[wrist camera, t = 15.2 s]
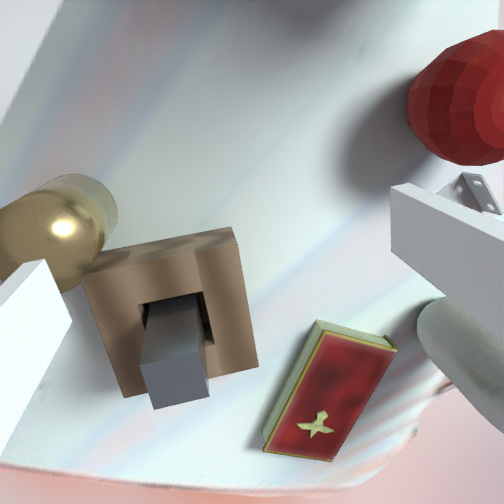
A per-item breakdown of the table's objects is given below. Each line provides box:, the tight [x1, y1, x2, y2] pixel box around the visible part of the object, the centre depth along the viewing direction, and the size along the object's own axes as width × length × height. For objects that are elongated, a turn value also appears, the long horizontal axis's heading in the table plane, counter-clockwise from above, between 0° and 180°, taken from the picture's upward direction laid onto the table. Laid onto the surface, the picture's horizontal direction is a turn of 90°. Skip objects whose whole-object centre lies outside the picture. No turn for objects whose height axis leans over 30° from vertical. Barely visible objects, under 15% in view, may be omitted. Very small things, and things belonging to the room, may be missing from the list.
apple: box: [406, 30, 504, 166], centre depth 36 cm, size 12×12×13 cm
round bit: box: [0, 174, 117, 294], centre depth 35 cm, size 8×8×12 cm
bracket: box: [437, 172, 503, 215], centre depth 47 cm, size 7×10×4 cm, turn 131°
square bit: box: [139, 292, 209, 410], centre depth 39 cm, size 5×5×14 cm
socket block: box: [81, 227, 259, 398], centre depth 43 cm, size 16×16×6 cm
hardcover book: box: [262, 320, 398, 462], centre depth 54 cm, size 12×21×4 cm, turn 159°
